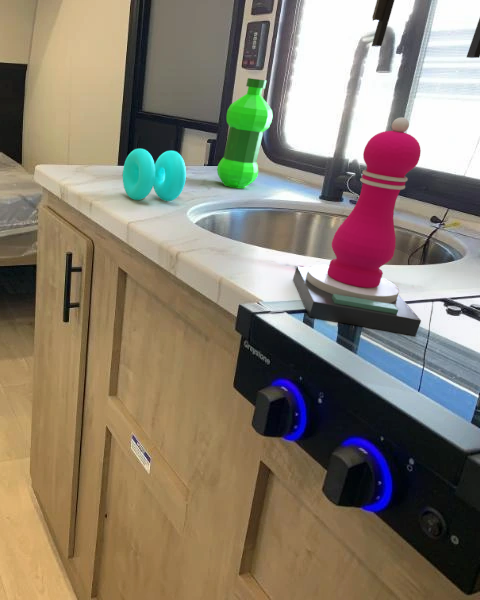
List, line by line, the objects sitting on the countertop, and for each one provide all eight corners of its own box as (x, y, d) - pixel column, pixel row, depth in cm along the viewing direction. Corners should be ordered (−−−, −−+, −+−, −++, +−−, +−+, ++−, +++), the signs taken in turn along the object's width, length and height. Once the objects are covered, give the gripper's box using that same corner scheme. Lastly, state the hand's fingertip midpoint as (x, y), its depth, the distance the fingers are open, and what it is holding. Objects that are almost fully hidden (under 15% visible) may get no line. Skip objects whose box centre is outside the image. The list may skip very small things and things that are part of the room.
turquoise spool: (183, 206, 119) (193, 156, 115) (138, 205, 115) (147, 153, 111) (159, 194, 127) (167, 146, 123) (117, 193, 123) (124, 143, 120)
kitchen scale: (382, 294, 82) (389, 274, 81) (415, 336, 69) (424, 312, 68) (293, 279, 83) (298, 259, 82) (308, 317, 71) (315, 293, 69)
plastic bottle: (205, 180, 151) (226, 75, 142) (241, 182, 154) (264, 80, 145) (225, 189, 142) (249, 78, 133) (263, 191, 146) (289, 83, 136)
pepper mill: (366, 293, 72) (421, 121, 64) (312, 273, 77) (357, 111, 69) (392, 285, 76) (447, 123, 69) (340, 266, 81) (386, 114, 74)
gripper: (388, -134, 79) (342, 40, 87) (593, -118, 76) (526, 62, 84) (373, -117, 86) (332, 42, 94) (561, -102, 83) (502, 62, 91)
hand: (423, 52), depth 89 cm, fingers open, 13 cm apart
